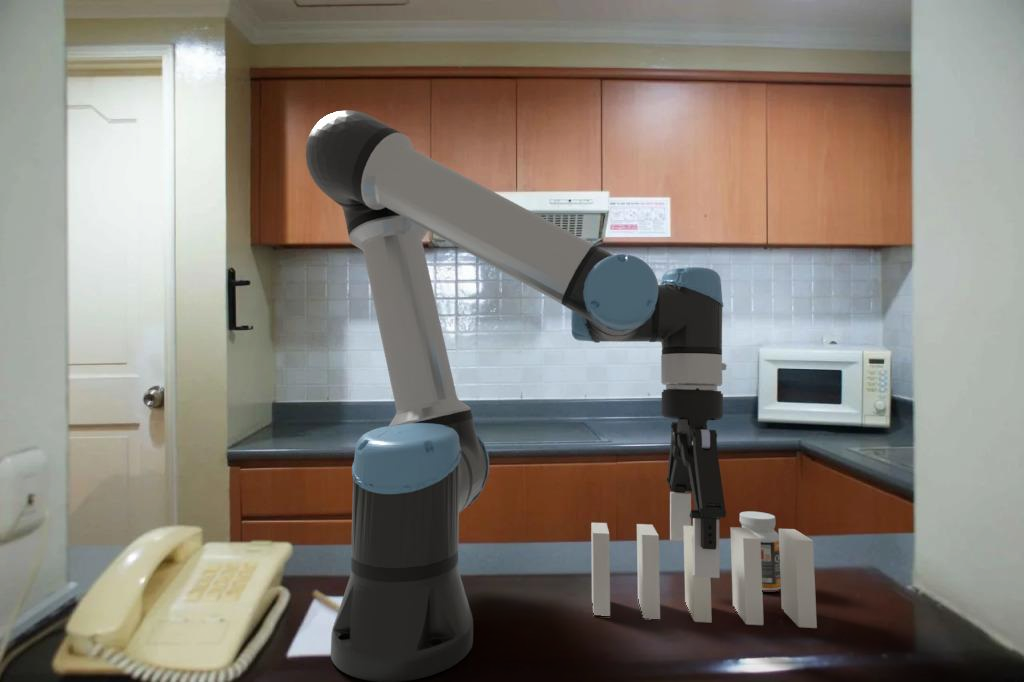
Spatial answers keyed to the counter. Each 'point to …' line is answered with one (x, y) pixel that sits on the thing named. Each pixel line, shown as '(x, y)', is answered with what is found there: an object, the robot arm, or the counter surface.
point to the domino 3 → (695, 584)
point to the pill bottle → (765, 546)
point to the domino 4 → (747, 575)
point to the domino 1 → (600, 569)
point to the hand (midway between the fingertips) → (692, 556)
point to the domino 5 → (797, 577)
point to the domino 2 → (648, 571)
